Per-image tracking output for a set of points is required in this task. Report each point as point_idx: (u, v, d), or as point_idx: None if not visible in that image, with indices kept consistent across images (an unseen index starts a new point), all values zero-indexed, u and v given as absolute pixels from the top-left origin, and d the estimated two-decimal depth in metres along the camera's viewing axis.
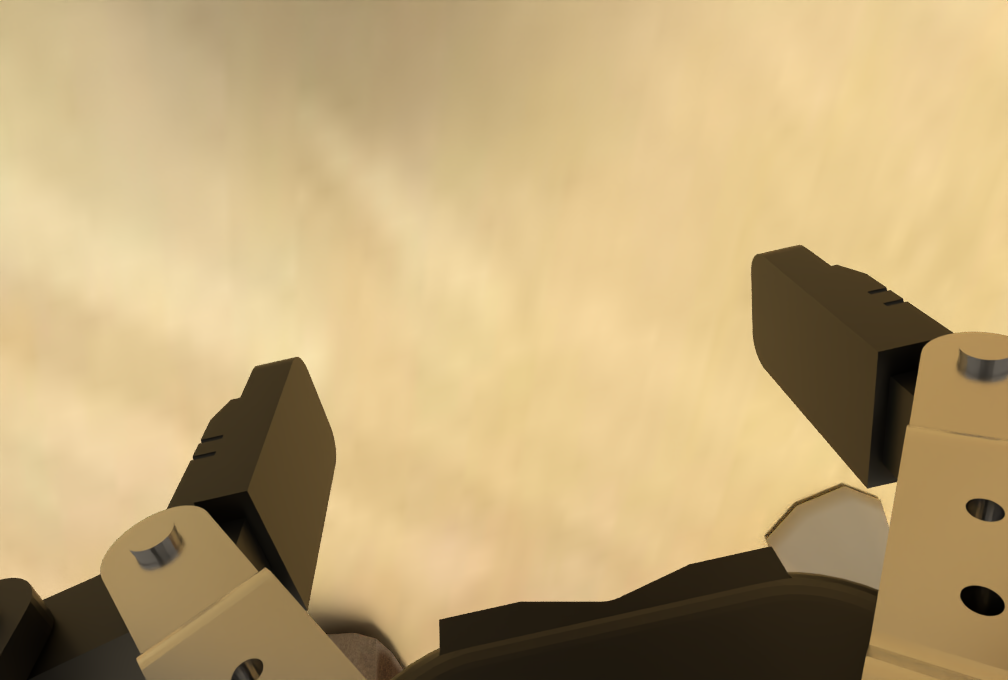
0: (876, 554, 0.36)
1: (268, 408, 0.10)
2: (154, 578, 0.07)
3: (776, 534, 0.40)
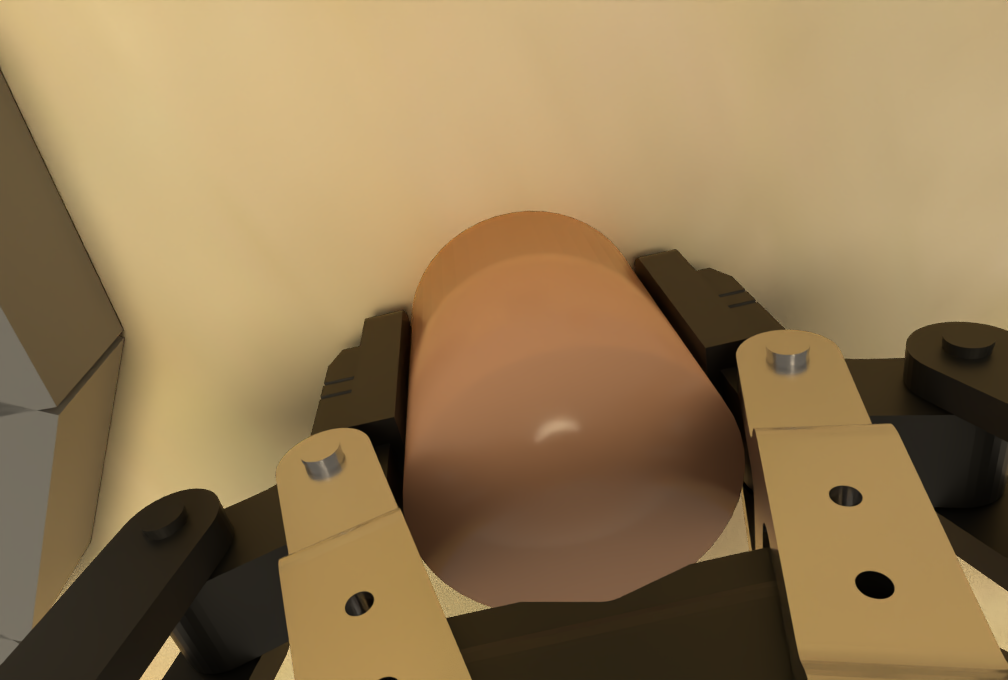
0: None
1: (391, 351, 0.11)
2: (332, 484, 0.08)
3: None
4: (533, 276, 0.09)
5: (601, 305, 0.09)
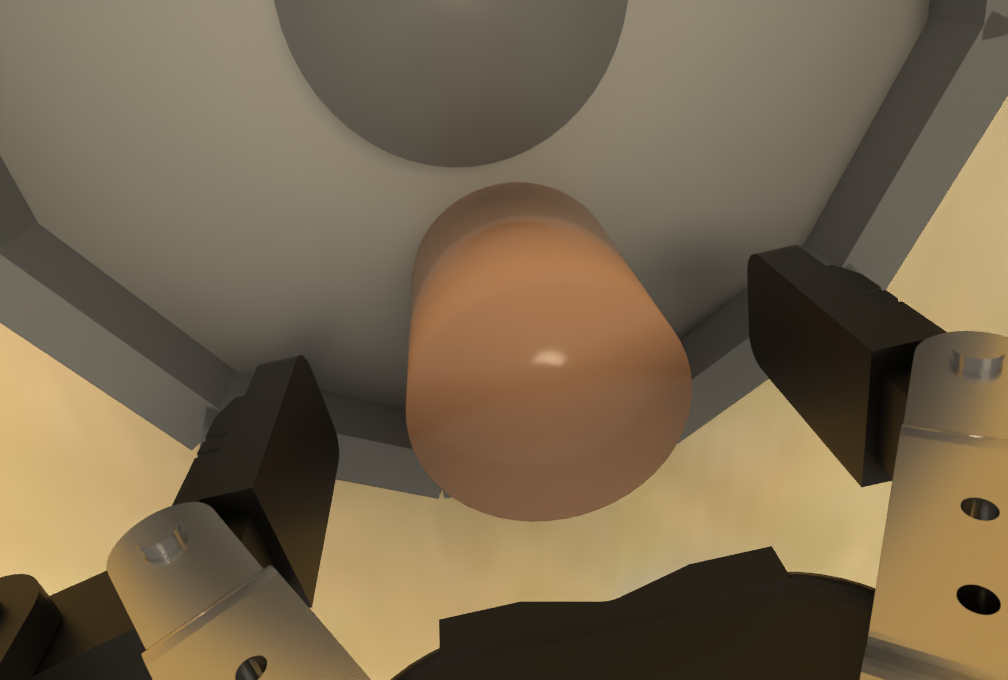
0: None
1: (272, 406, 0.10)
2: (161, 574, 0.07)
3: None
4: (516, 231, 0.11)
5: (572, 251, 0.10)
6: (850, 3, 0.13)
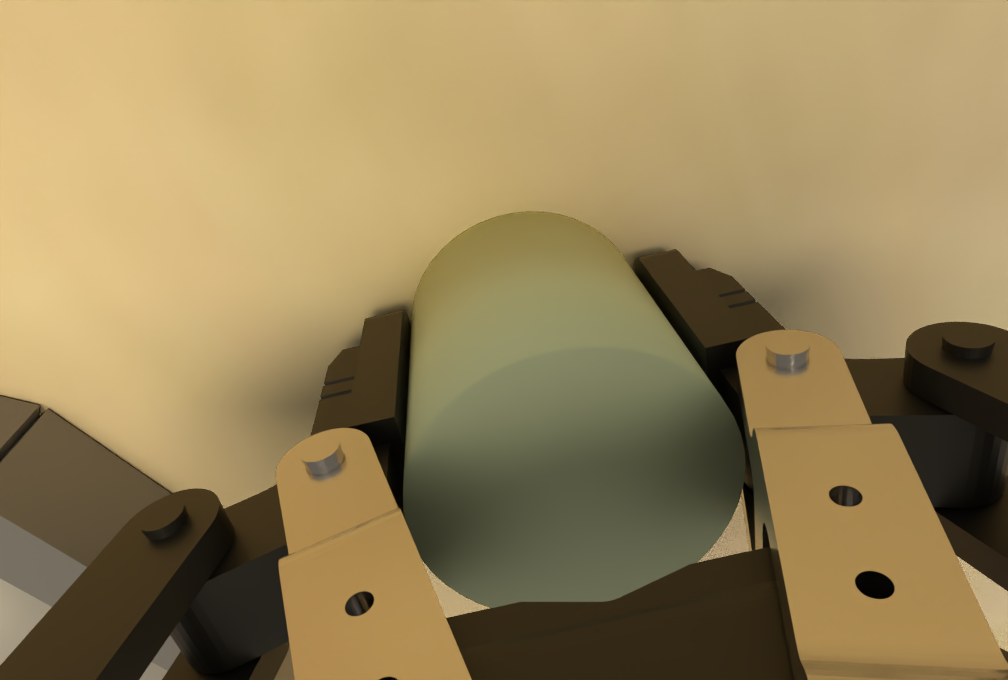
0: None
1: (391, 351, 0.11)
2: (332, 484, 0.08)
3: None
4: None
5: None
6: None
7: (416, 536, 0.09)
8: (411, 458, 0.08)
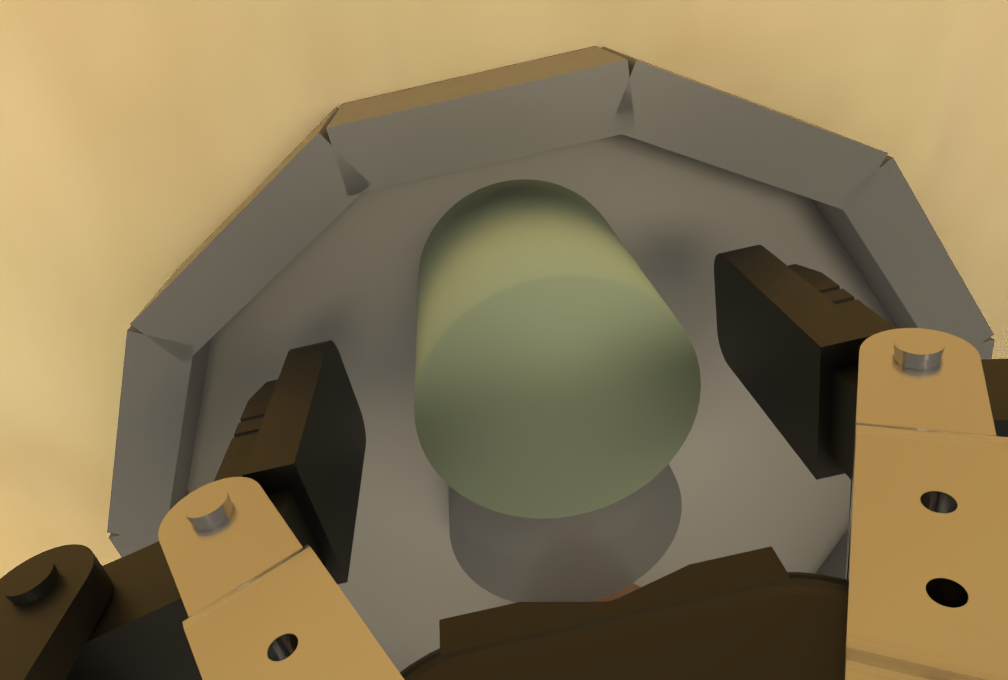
0: None
1: (307, 387, 0.10)
2: (213, 543, 0.07)
3: None
4: None
5: None
6: None
7: (425, 441, 0.10)
8: (421, 371, 0.10)
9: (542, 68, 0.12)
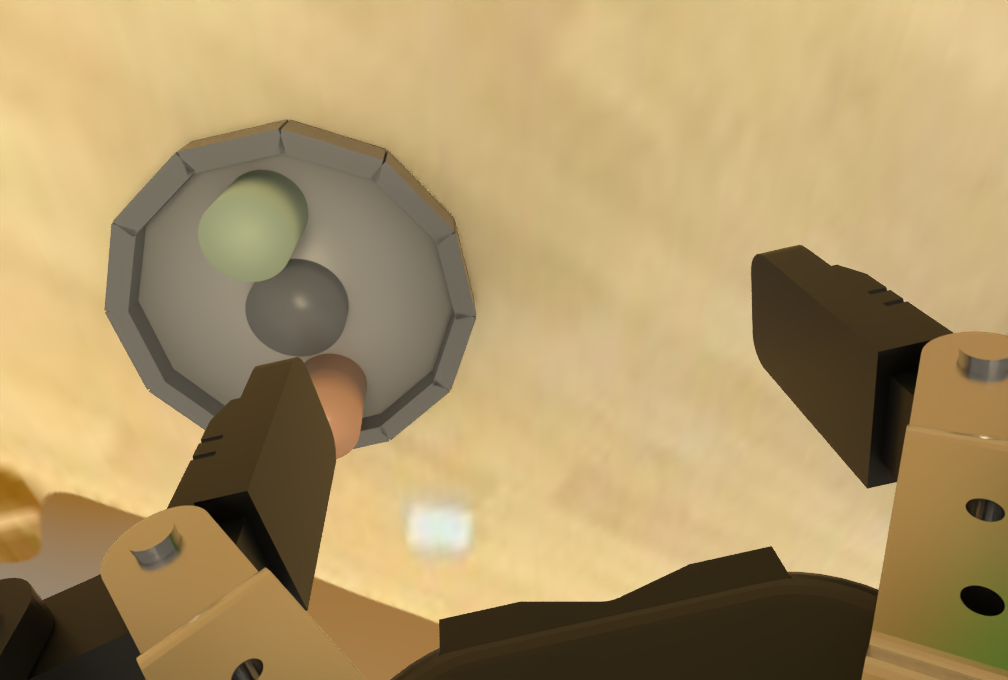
0: None
1: (268, 408, 0.10)
2: (154, 578, 0.07)
3: None
4: (315, 378, 0.39)
5: (326, 386, 0.39)
6: (426, 302, 0.41)
7: (203, 250, 0.33)
8: None
9: (258, 130, 0.35)
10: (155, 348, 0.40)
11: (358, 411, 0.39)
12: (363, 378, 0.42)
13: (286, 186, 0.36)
